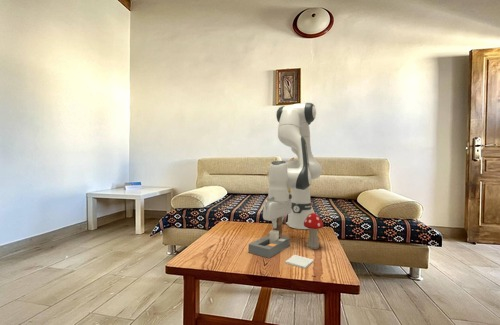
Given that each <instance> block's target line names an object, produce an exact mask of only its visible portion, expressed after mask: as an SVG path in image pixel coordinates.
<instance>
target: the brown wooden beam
mask: <svg viewBox="0 0 500 325" xmlns="http://www.w3.org/2000/svg"><path fill="white" fill-rule="evenodd" d="M276 222H277V224H278V227H277V228H273V227H272V230H277V231H279V236H282V234H283V222H282V217H279V218H277V221H276Z"/></svg>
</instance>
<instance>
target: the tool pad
mask: <svg viewBox="0 0 500 325" xmlns="http://www.w3.org/2000/svg"><path fill="white" fill-rule="evenodd" d="M313 263H314V259H313V258H309V257H305V256H300V255H297V254H293V255H292V256H291V257H289V258H287V260H285V264H287V265H292V266H294V267H298V268H302V269H307V268H308V267H309V266H310V265H312V264H313Z"/></svg>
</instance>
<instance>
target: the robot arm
mask: <svg viewBox="0 0 500 325" xmlns="http://www.w3.org/2000/svg"><path fill="white" fill-rule="evenodd" d="M316 116H317V110H316V106H315V105H314V103H312V102H305V103H301V102H300V103H294V104H288V105H282V106H280V107H278V109H277V111H276V120H277V122H278V127H277V138H278V140H279V141H280V143H281V144H283V145H284V146H287V147H289V148H290V149H291V151H292V153H293V154H295V155H296V156H297V160H289V161H284V160H273V161H271V162H270V164H269V169H268V182H269V183H268V185H269V186H268V190H267V191H268V192H267V193H268V198H267V199H266V200H265V203H264V204H263V211H262V218H263V221H271V223H272V229H273V228H277V227H278V224H277V222H276V221H277V218H279V217H282V223H283V221H284V218H285V216H287V222H285V224H286V225H287V226H288V227H290V228H293V229H298V230H309V228H307V227H305V226H304V221H305V220H306V218H307V216H308V215H309V214H311V213H315V212H314V211H313V209H312V208H313V207H312V206H313V202H311V189H310V186H311V183H312V180H315V179H319V178H320V176H321V175H322V172H323V168H322V167H323V166H322V165H321V164H320V162H318V161H317V159H316V158H315V157H314V155H313V153H312V148H311V147H312V146H311V131H310V125H311V123H312V122H314V121H315V119H316ZM289 189H290V193H289Z"/></svg>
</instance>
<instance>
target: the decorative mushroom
mask: <svg viewBox="0 0 500 325" xmlns="http://www.w3.org/2000/svg"><path fill="white" fill-rule="evenodd" d="M304 226H305V227H307V228H309V229H308V231H309V232H308V240H307V242H306V244H307V248H308V249H311V250H318V249H320V248H319V247H320V245H321V244H320V242H319V234H318V233H319V232H318V230H320V229H323V228H324V222H323V221H322V219H321V217H320V216H319V214H317V213H315V212H314V213H311V214H309V215H308V216H307V218H306V220H305V221H304Z"/></svg>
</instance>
